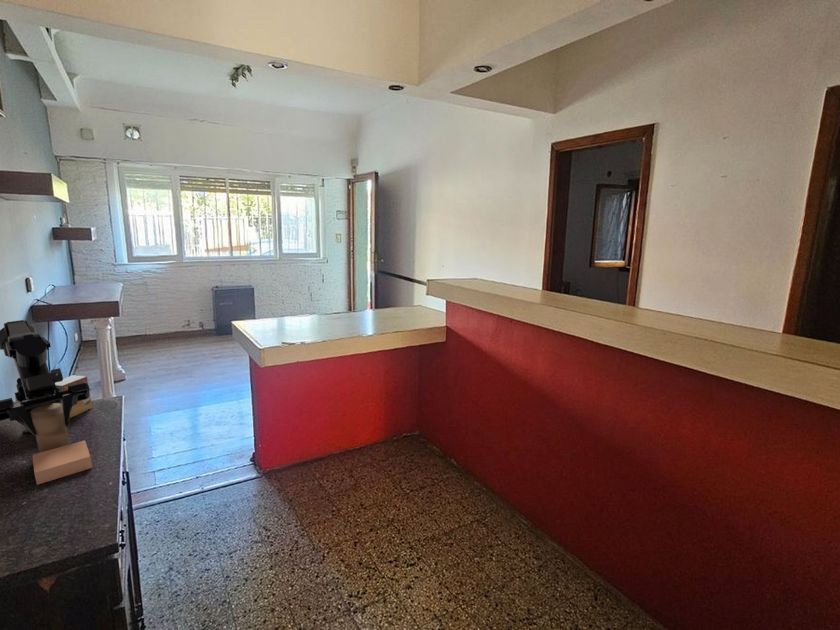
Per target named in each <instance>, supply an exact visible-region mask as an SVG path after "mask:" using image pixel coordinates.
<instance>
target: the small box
mask: <svg viewBox="0 0 840 630" xmlns="http://www.w3.org/2000/svg"><path fill="white" fill-rule="evenodd" d="M88 380H89V379H88V377H87V376H85V375H75V374H72V375H69V376H67V377H63V380H62V381H61V382H56V383H55V385H56V387H57V388H59V391H60V392H63V391H67V390H68V385H71V384H75V383H80V382H86V383H88V384H89V381H88ZM90 392H91V391H89V398H88V399H86V400H82V401H78V402H77V404H76V405H73V406H72V409H71V412H70V419H71V418H72V417H75V416H78V415H80V414H82V413H84V411H85V412H87V411H88V409H90V408H92V409H93V405H92V398H91V393H90ZM82 402H84V403H82ZM60 404H62V407H63V399H61V402H60ZM86 410H87V411H86ZM90 410H91V409H90ZM63 412H64V410H63Z"/></svg>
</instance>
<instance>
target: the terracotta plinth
mask: <svg viewBox="0 0 840 630" xmlns="http://www.w3.org/2000/svg"><path fill="white" fill-rule="evenodd" d="M32 463H33V464H32V465H33V471H34V472H33V473H34V478H35V482H36V486H39V485H40V484H44V483H47V482H52V481H53V480H56V479H60V478H64V477H67V476H70V475H73V474H77V473H80V472H83V471H85V470H91V469H92V468H93V463H92V458H91V455H90V451H89V448H88V446H87V442H86V440H80V441H78V442H73V443H70V445H66V446H62V447H59V448H55V449H51V450H48V451H44V452H40V453H39V452H38V453H37V452H36V453H34V454H33V453H32Z"/></svg>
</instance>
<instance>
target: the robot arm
mask: <svg viewBox="0 0 840 630" xmlns="http://www.w3.org/2000/svg"><path fill="white" fill-rule="evenodd" d="M49 348H51V342H50V341H49V340H48V339H46V338H45V336H41V334H40V333H39V332H36V330H35V328H34V327H33V326H31V325H30V324H28V321H27V320H23V319H21V320H20V319H19V320H12V321H7V322H5V323H3V327H2V328H1V329H0V350H2V351H3V353H4V355H5V356H6V357H8V358H12V359H13V360H14V363H15V367H16V369H17V372H18V376H19V377H18V378H16V384H15V385H16V386H15V387H16V390H17V392H14V399H13V397H9V398H4V399H1V400H0V421H1V422H2V421H5V420H9V421H11V422H12V421H16V422H17V423H19V424H21V425H22V426H23V427H24V428H25V429H24V430H22V431H21V433H22V434H32V436H34V437H36V436H35V435H36V432H35V429H34V426H33V422H32V417H31V412H30V411H31V410H32V409H34V408H36V407H39V406H42V405H46V404H51V403H60V402H61V399H63V410H64V417H65V422H66V427H69V426H70V419H71V418H70V412H71V409H72V406H73V405H76V404H77V402H78V401H82V400H86V399H88V398H89V392H91V391H90V390H91V389H90V386H89V382H88V383H86V382H80V383H75V384H71V385H68V390H67V391H63V392H60V391H59V388H57V387H56V385H55V383H56V382H61V381H62V380H63V379H64V377H63V374H62V373H63V372H62V370H61V368H54V369H51V370H49V369H50V368H49V366H48V364H47V360H48V350H49ZM13 400H15V401H13Z"/></svg>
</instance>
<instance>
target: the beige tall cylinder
mask: <svg viewBox="0 0 840 630" xmlns="http://www.w3.org/2000/svg"><path fill="white" fill-rule="evenodd" d="M30 412H31V417H32V422H33V426H34V429H35V432H36V435H35V436H34V437H35V439H36V445H37V450H38V453H40V452H44V451H48V450H51V449H55V448H59V447H62V446H66V445H70V444H71V442H70V438H69V434H68V433H69V432H68V428H67V427H68V426H66V422H65V417H64V412H63V407H62V404H60V403H51V404H46V405H42V406H39V407H36V408H34V409H32V410H31V411H30Z"/></svg>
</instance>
